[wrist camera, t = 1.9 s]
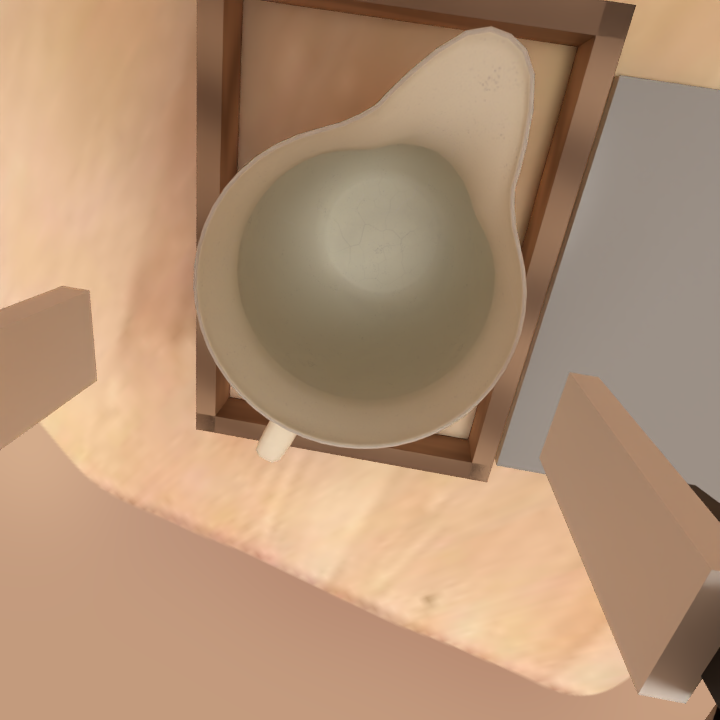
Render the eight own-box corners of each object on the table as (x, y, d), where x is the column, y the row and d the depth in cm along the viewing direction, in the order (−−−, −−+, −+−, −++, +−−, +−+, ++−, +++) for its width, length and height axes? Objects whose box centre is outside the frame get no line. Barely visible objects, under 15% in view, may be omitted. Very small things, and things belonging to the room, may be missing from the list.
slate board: (613, 77, 23) (620, 75, 22) (963, 129, 22) (982, 128, 22) (494, 458, 32) (496, 465, 31) (741, 502, 31) (748, 511, 31)
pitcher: (227, 334, 30) (95, 465, 18) (363, 32, 23) (303, -102, 11) (379, 415, 32) (355, 591, 19) (554, 151, 24) (699, 155, 12)
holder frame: (218, -38, 23) (197, -58, 20) (613, 19, 22) (636, 5, 20) (211, 409, 33) (196, 429, 31) (481, 458, 32) (487, 482, 30)
